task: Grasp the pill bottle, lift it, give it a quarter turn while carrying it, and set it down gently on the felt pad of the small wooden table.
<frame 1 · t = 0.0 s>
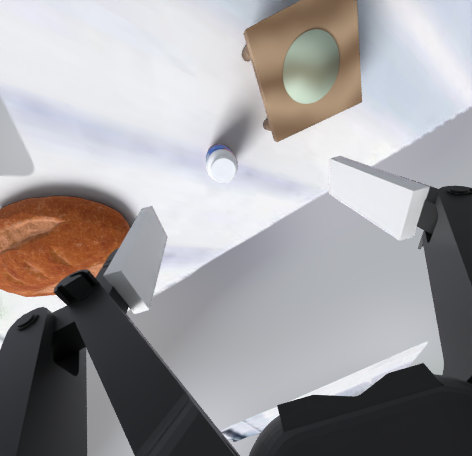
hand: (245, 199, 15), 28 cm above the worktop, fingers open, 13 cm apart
small wooden table: (287, 77, 35), on the worktop
pill bottle: (219, 157, 40), on the worktop
bread: (64, 242, 45), on the worktop
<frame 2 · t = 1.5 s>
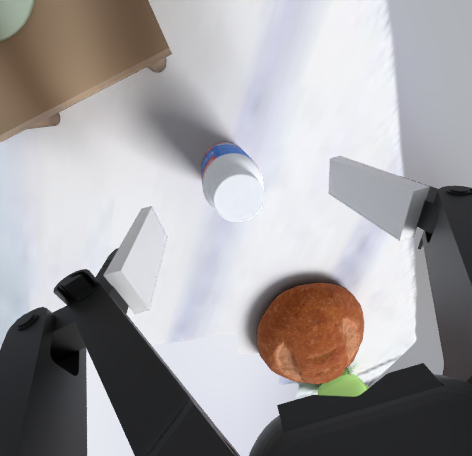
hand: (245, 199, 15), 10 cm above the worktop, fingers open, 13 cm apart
small wooden table: (47, 4, 15), on the worktop
pill bottle: (224, 166, 24), on the worktop
teapot: (333, 377, 61), on the worktop
bread: (305, 325, 44), on the worktop
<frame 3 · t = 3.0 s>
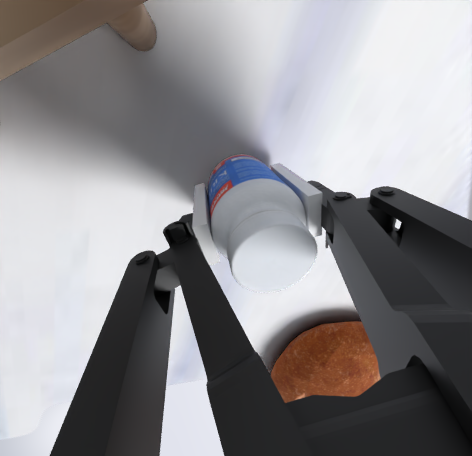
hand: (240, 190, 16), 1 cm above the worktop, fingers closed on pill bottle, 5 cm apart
pill bottle: (238, 186, 17), on the worktop, touching gripper
bread: (325, 361, 38), on the worktop
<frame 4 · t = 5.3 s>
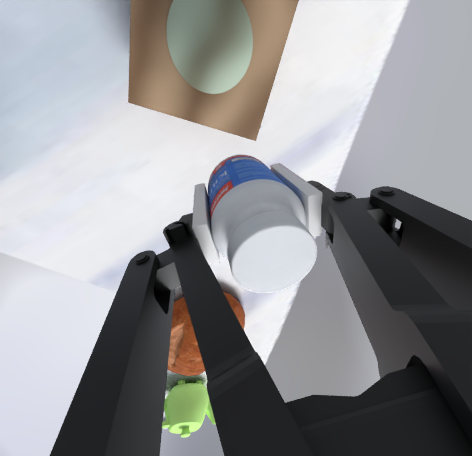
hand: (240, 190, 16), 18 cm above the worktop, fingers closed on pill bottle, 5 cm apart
small wooden table: (208, 61, 26), on the worktop
pill bottle: (238, 186, 17), point 17 cm above the worktop, touching gripper
teapot: (188, 385, 70), on the worktop
bread: (199, 325, 54), on the worktop
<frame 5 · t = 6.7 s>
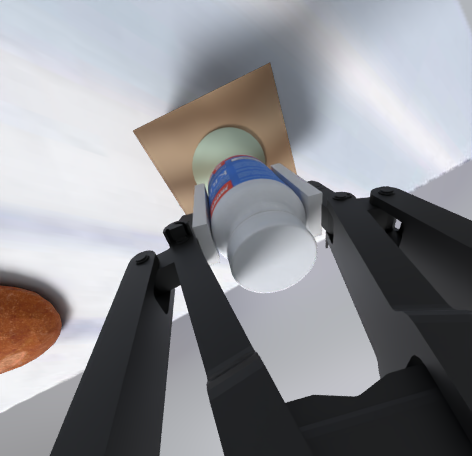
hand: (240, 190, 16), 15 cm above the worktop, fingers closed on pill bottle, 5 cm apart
small wooden table: (222, 152, 29), on the worktop
pill bottle: (238, 186, 17), point 14 cm above the worktop, touching gripper
when the fingers open (11 cm above the worktop, at t = 7.7 s): pill bottle drops 1 cm, resting on small wooden table.
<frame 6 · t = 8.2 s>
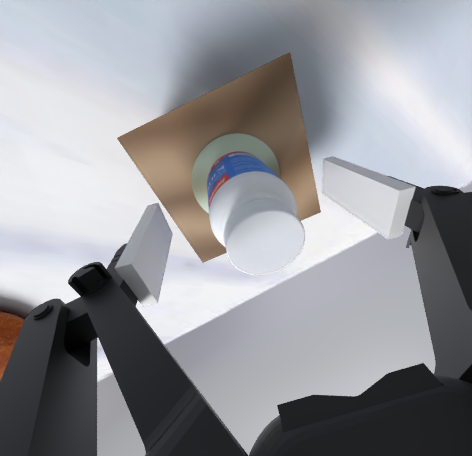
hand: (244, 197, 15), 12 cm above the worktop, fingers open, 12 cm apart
small wooden table: (226, 160, 26), on the worktop
pill bottle: (236, 181, 18), point 9 cm above the worktop, touching small wooden table
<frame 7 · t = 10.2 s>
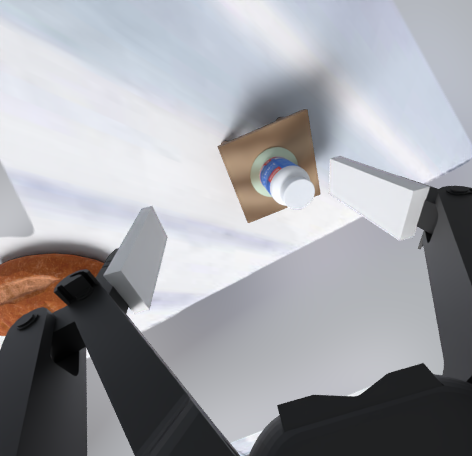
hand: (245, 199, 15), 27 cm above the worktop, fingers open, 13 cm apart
small wooden table: (261, 162, 40), on the worktop
pill bottle: (274, 173, 33), point 9 cm above the worktop, touching small wooden table
bread: (58, 288, 48), on the worktop
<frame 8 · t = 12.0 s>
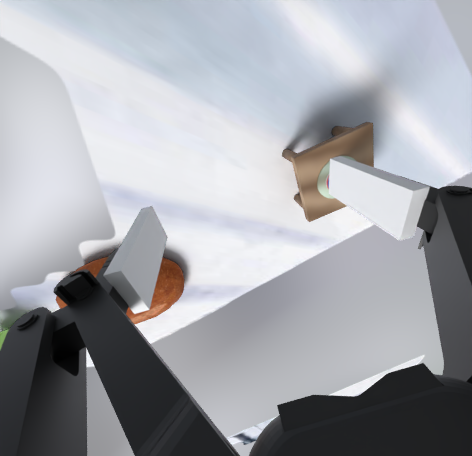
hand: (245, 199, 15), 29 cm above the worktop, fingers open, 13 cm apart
small wooden table: (315, 166, 45), on the worktop
bread: (127, 284, 54), on the worktop
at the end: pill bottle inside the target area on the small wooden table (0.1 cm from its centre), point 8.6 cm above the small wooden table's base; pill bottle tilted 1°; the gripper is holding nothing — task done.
